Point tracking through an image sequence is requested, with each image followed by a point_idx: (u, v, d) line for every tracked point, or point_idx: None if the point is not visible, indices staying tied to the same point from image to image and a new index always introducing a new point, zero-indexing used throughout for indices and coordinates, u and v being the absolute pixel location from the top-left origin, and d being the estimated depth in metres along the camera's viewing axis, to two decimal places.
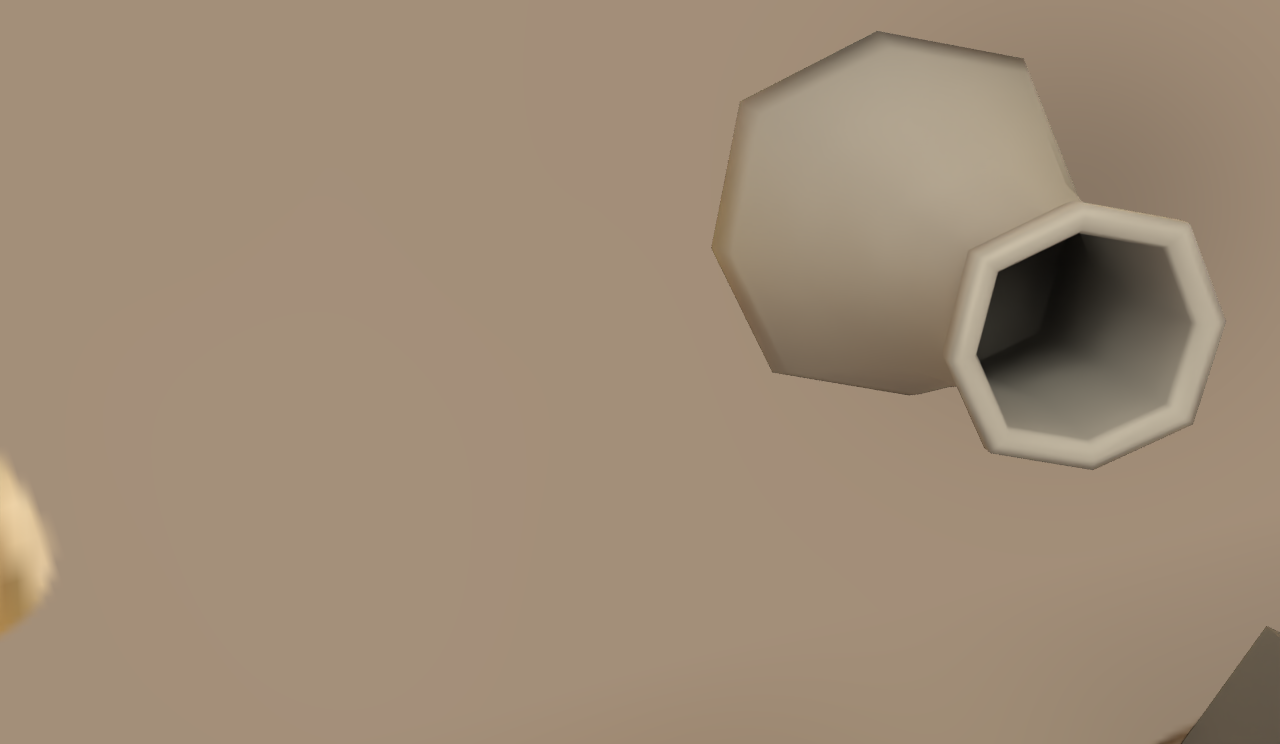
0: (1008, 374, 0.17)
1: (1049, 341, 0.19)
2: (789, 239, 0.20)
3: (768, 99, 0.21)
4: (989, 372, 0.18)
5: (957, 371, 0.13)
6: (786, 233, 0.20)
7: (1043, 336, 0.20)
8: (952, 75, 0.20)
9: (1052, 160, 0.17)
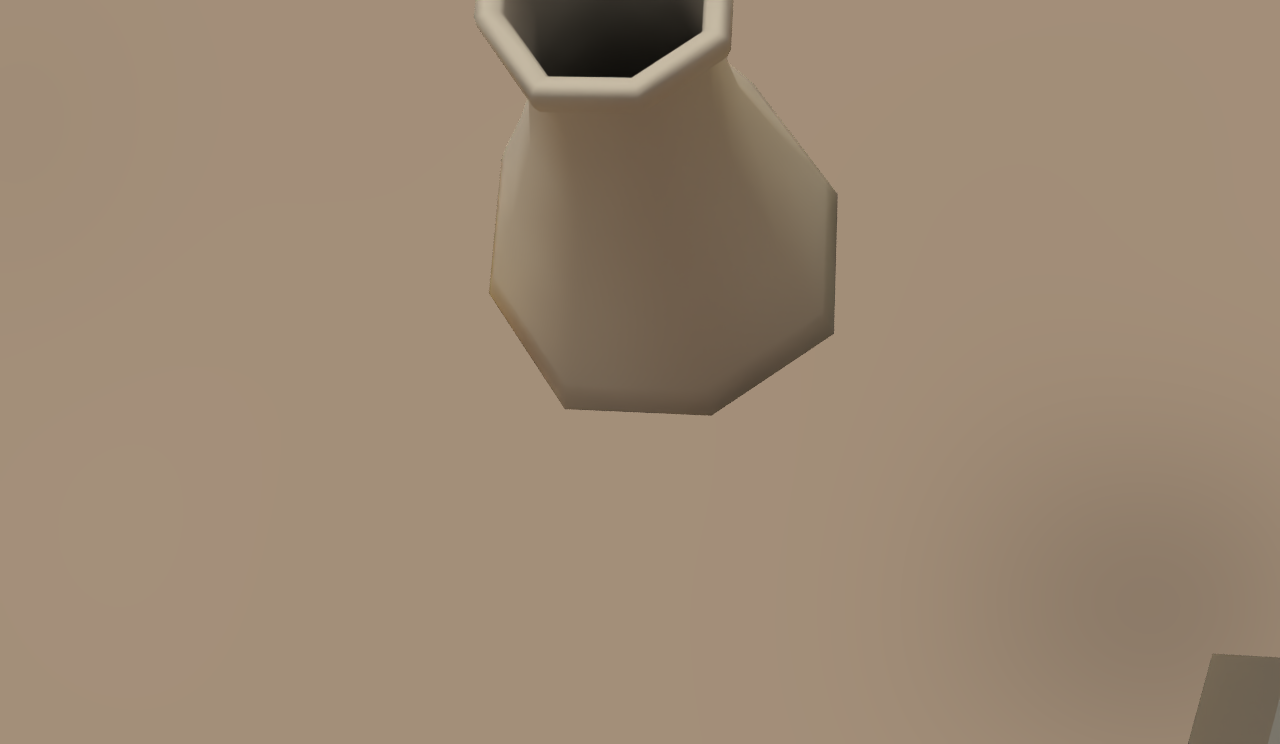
0: (670, 196, 0.17)
1: None
2: (511, 203, 0.20)
3: None
4: (688, 246, 0.18)
5: (484, 26, 0.14)
6: None
7: (783, 264, 0.20)
8: None
9: None
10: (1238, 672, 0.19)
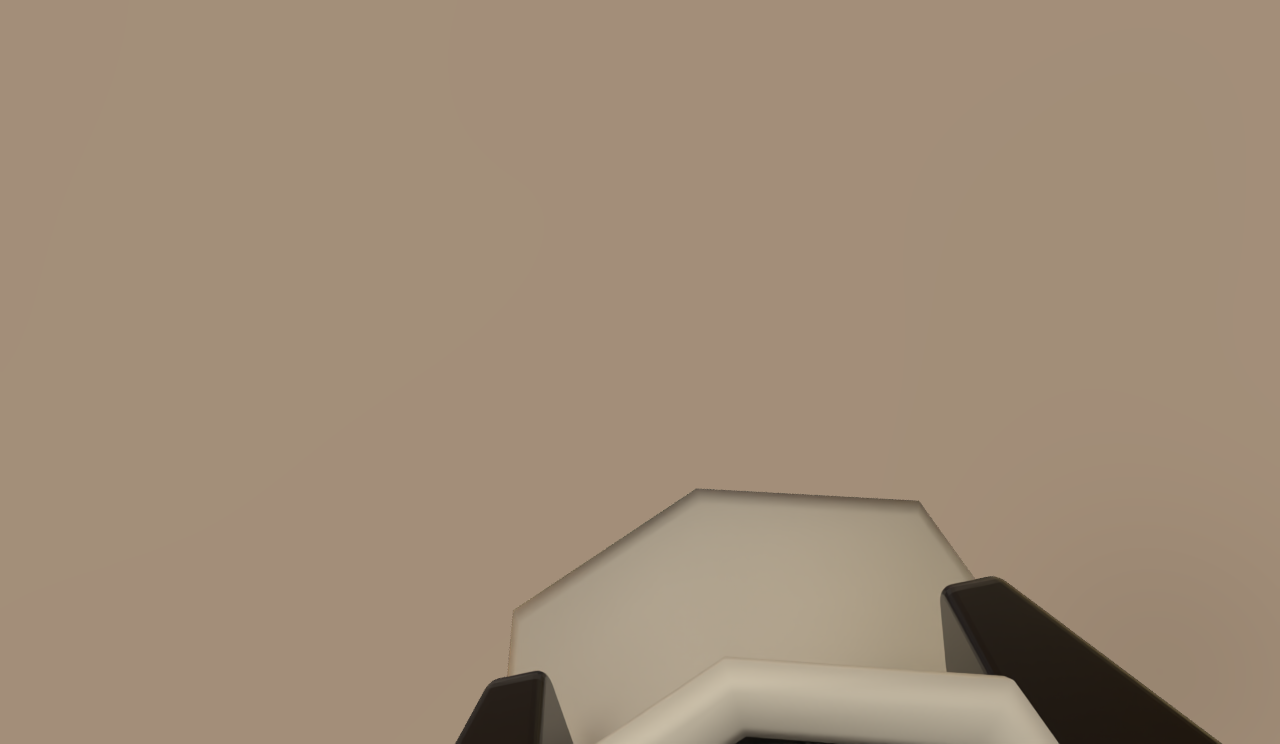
0: None
1: None
2: None
3: (541, 600, 0.14)
4: None
5: None
6: None
7: None
8: (783, 526, 0.13)
9: (897, 622, 0.10)
10: None
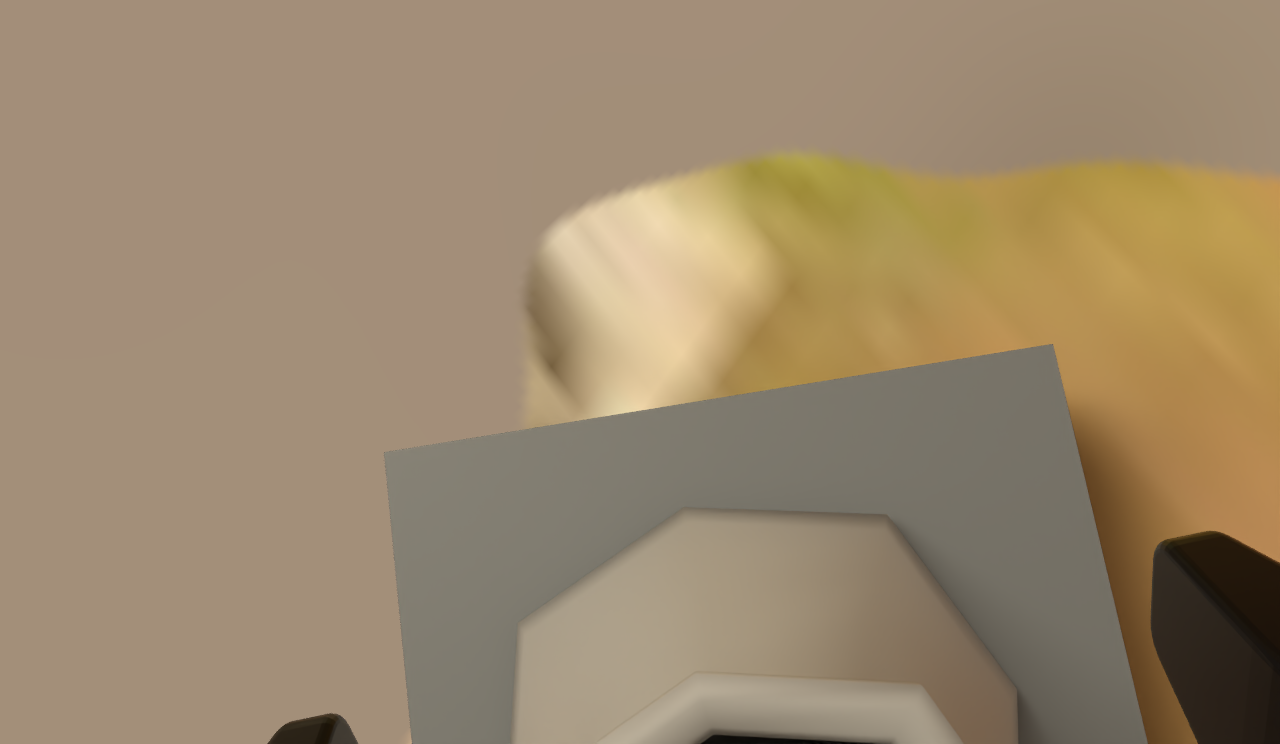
0: None
1: None
2: None
3: (543, 613, 0.16)
4: None
5: None
6: None
7: None
8: (761, 542, 0.14)
9: (857, 630, 0.11)
10: None
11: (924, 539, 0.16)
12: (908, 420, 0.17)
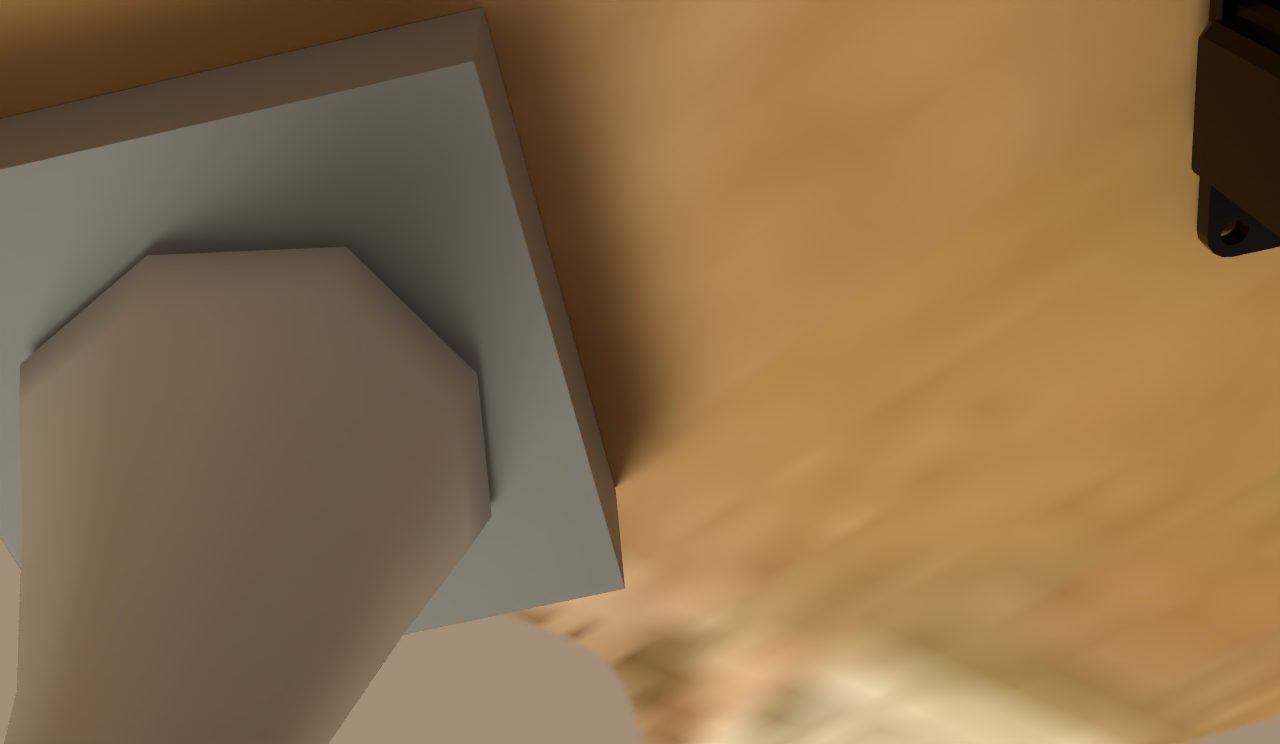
0: (270, 699, 0.13)
1: (257, 523, 0.14)
2: None
3: None
4: (314, 604, 0.14)
5: None
6: None
7: (291, 414, 0.15)
8: None
9: (19, 635, 0.14)
10: None
11: (37, 322, 0.17)
12: None
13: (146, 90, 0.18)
